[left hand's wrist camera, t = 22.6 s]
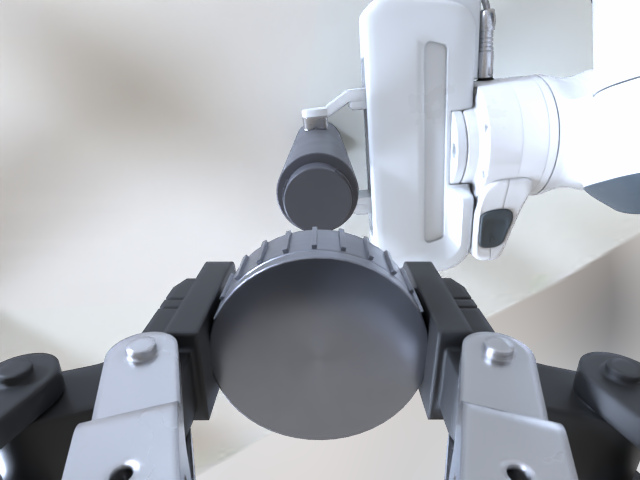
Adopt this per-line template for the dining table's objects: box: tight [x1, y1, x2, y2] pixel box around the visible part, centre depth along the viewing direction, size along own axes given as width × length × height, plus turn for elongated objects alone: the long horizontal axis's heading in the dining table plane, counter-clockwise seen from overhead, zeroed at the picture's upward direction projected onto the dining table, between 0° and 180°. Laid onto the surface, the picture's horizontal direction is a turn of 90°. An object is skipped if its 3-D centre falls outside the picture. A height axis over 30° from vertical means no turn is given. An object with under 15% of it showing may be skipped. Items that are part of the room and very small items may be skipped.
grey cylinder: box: [277, 122, 359, 231], centre depth 29 cm, size 4×4×19 cm
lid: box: [210, 227, 428, 440], centre depth 10 cm, size 5×5×2 cm
